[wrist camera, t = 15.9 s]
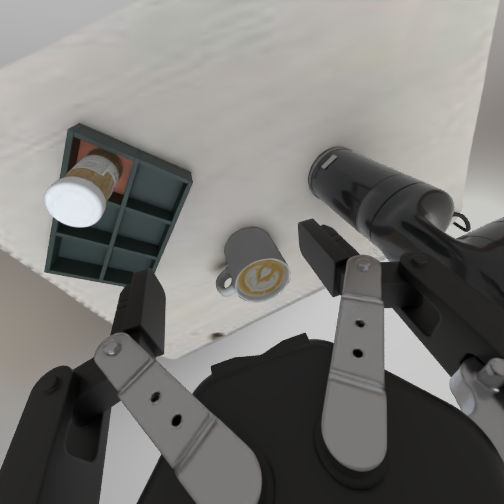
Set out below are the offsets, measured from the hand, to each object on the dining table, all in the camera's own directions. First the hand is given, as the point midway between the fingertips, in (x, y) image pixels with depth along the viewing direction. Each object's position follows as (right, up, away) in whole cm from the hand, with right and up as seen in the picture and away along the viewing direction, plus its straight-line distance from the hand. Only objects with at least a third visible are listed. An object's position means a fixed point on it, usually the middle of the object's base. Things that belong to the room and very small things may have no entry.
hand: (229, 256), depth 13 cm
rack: (-20, +6, +25) cm, 32 cm away
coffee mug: (-1, 0, +36) cm, 36 cm away
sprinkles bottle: (-19, +12, +20) cm, 30 cm away
